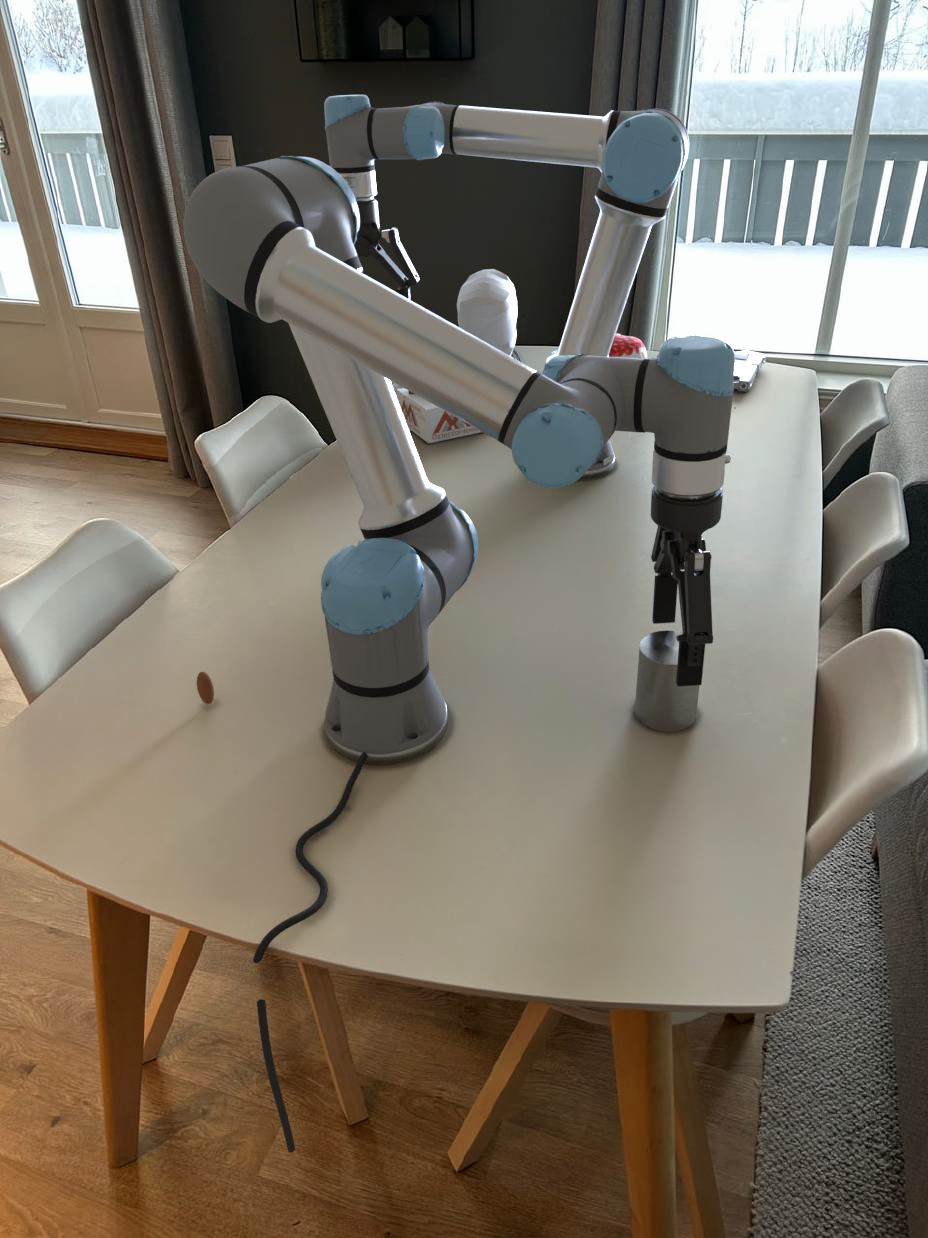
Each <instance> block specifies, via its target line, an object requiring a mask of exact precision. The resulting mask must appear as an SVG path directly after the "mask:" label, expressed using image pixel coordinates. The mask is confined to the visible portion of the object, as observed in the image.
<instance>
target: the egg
mask: <svg viewBox="0 0 928 1238" xmlns="http://www.w3.org/2000/svg"><path fill="white" fill-rule="evenodd" d="M196 689H197V694H198V695H199V698H200V700H201V701H202V702H203V703H204V704H206V705H210V704H211V703H212V702H213V701H214V699H215V688H214V683H213V680H212V679H211V677H210V675H209V674H208V673H207V672H206V671H200V672H199V673H198V674H197V677H196Z"/></svg>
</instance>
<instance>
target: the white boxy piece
mask: <svg viewBox="0 0 928 1238" xmlns="http://www.w3.org/2000/svg"><path fill="white" fill-rule="evenodd" d="M395 391H396V392H395V393H396V397H397V400H398V403H399V405H400V408H401V411H402V413H403V416H404V418H405V421H406V424H407V426H408V429H409V431H411V432H413V433H414V434H415V435H417V436H418V437H419V438H420V439H422V440H423V441H425V442H426V443H427V444H432V443H437V442H442V441H446V440H451V439H455V438H456V439H457V438H462V437H466V436H471V435H475V434H479V433H483V432H482V431H480V430H478V429H476V428H475V427H473V426H471V425H469V424H467V423H466V422H464V421H462V420H460V419H459V418H457V417H455V416H453V415H451V414H450V413H448V412H446V411H444V410H443V409H441V408H439V407H437V406H435V405H434V404H432V403H430V402H428V401H427V400H425V399H423V398H421V397H419V396H418V395H416V394H414V393H412V392H411V391H409V390H407V389H405V388H403V387H401V388H396V389H395Z"/></svg>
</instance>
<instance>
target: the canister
mask: <svg viewBox="0 0 928 1238" xmlns="http://www.w3.org/2000/svg"><path fill="white" fill-rule="evenodd" d="M680 634H683V631H677V630H657V631H653V632H651V633H649V634H647V635H645V636H644V637H643V638H642V639H640V642H639V647H638V648H639V649H638V660H637V661H638V663H637V664H638V665H637V674H636V675H637V676H636V688H635V702H634V716H635V718H637V720H638V721H639V722H640V723H641V724H642V725H644V726H645V727H647V728H649V729H652V730H655V731H658V732H663V733H674V732H680V731H685V730H686V729H688V728H690V727H691V726H692V725H693V724H694V723H695V722H696V719H697V711H698V703H699V702H698V701H699V694H700V687H701V685H694V686H677V684H676V677H677V664H678V651H679V641H677V639H676V637H677V636H678V635H680Z"/></svg>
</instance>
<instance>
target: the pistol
mask: <svg viewBox="0 0 928 1238" xmlns="http://www.w3.org/2000/svg"><path fill="white" fill-rule="evenodd" d="M766 359H767V356H765V353H762V352H758V351H757V352H756V351H752V350H748V349H743V350H740V351H734V379H733V384H734V389H737V391H738V392H746V393H747V392H749V390H750V389H751V387H752V386H753V383H754V381H755V379H756V377H757V376H756V375H757V374H758V373H759V372H760V370H761V368H762V366H763V365H764V364H765V363H766Z"/></svg>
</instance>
